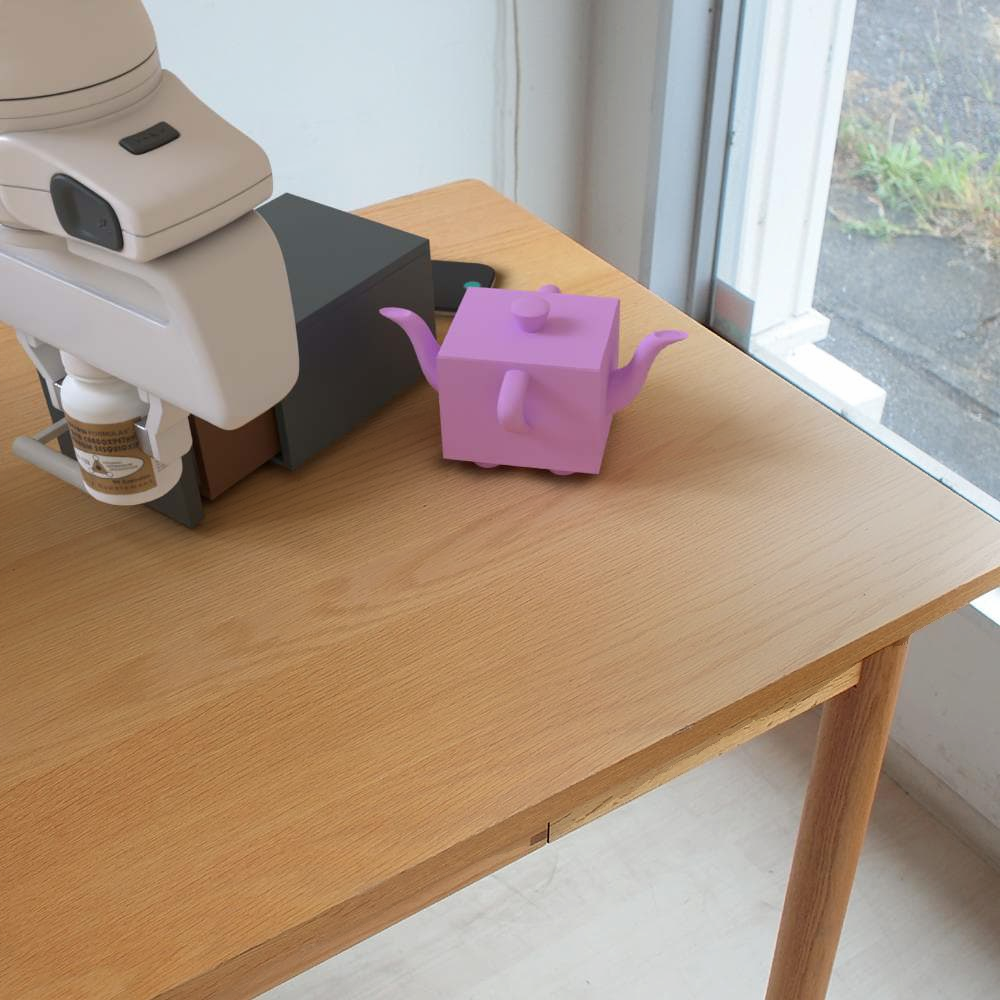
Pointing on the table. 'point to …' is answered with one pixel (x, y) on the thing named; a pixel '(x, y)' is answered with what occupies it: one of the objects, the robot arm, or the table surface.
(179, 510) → the drawer
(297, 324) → the cabinet
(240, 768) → the table surface
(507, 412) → the teapot
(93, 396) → the pill bottle
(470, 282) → the smartphone
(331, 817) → the table surface
